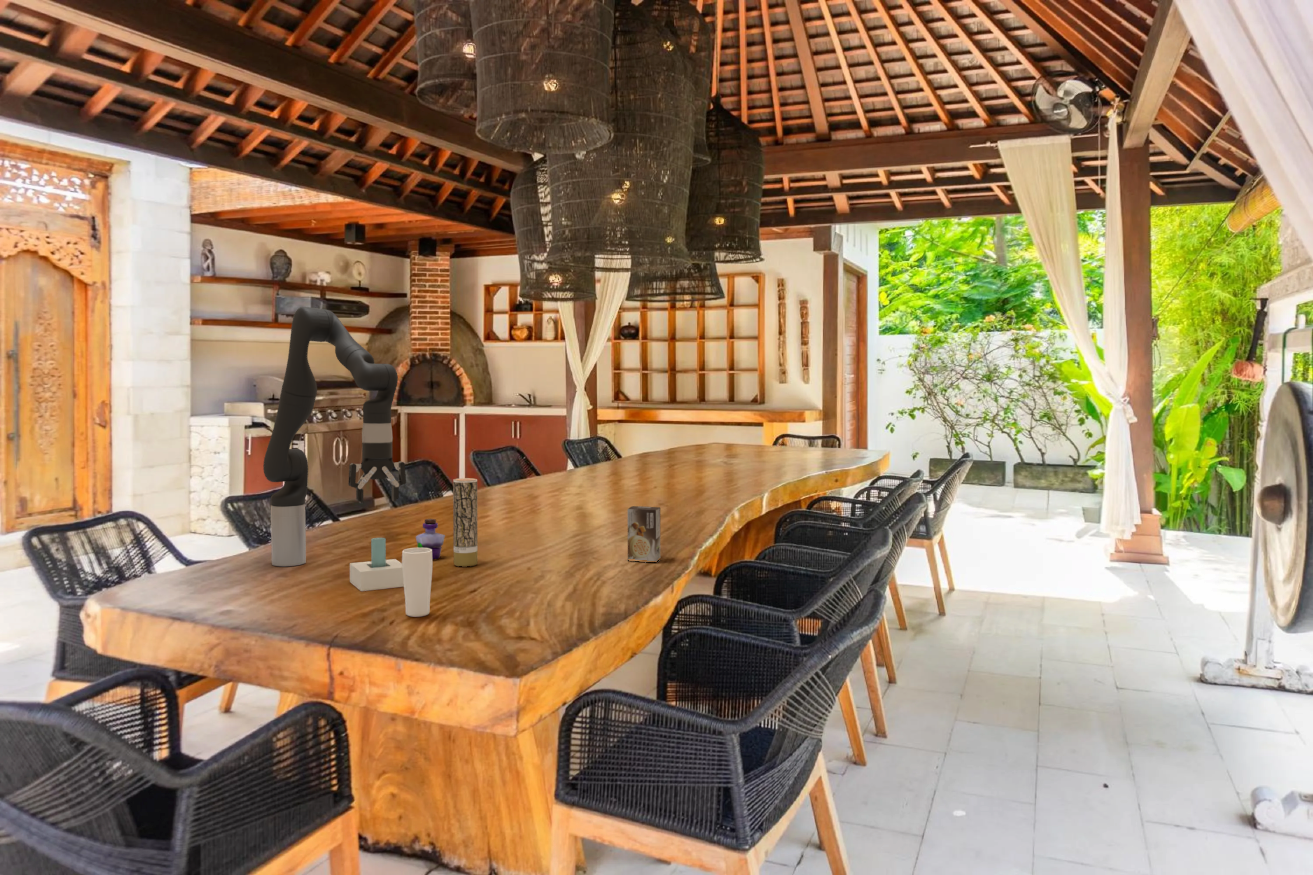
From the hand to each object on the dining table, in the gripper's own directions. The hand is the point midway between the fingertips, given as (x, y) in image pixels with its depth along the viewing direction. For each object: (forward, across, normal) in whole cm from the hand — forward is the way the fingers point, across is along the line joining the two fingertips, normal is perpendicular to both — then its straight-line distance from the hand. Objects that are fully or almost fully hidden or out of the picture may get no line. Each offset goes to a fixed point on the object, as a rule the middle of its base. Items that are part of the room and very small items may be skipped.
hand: (377, 502), depth 238 cm
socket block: (+22, 0, 0) cm, 22 cm away
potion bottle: (+22, -22, -26) cm, 41 cm away
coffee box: (+22, -77, +7) cm, 80 cm away
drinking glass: (+22, 0, +35) cm, 41 cm away
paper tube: (+22, -28, -12) cm, 38 cm away
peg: (+22, 0, 0) cm, 22 cm away
